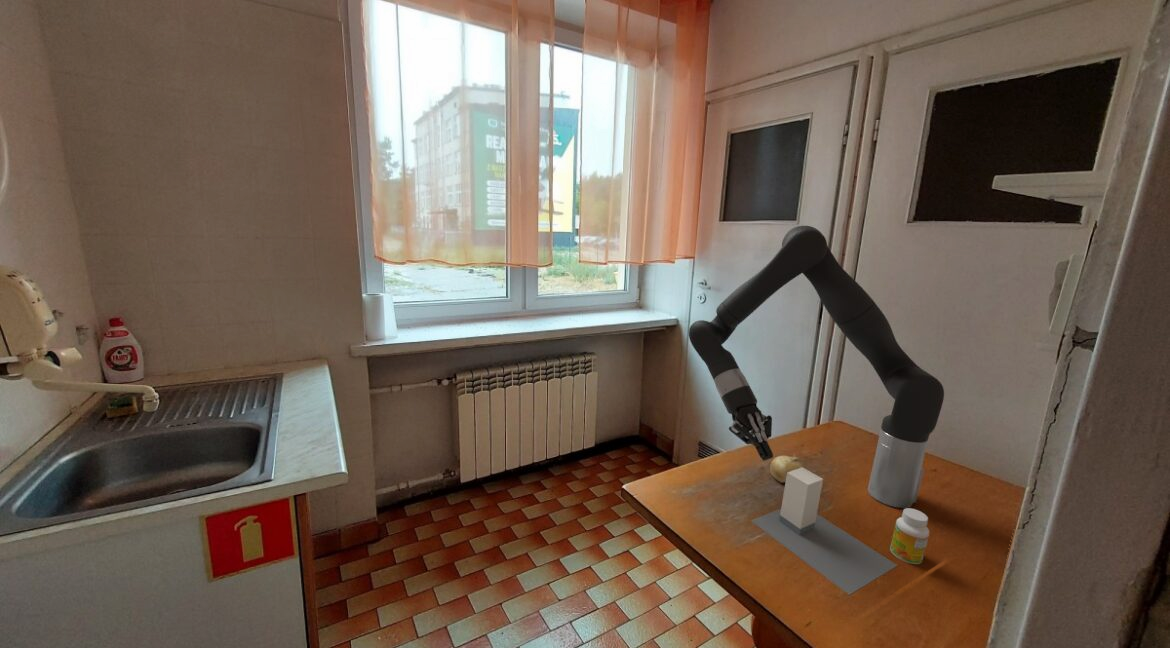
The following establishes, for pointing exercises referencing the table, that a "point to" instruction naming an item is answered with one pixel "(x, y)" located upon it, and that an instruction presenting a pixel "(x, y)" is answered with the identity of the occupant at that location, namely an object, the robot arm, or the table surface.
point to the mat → (829, 552)
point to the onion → (784, 467)
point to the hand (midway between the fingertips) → (768, 458)
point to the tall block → (800, 500)
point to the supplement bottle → (910, 536)
